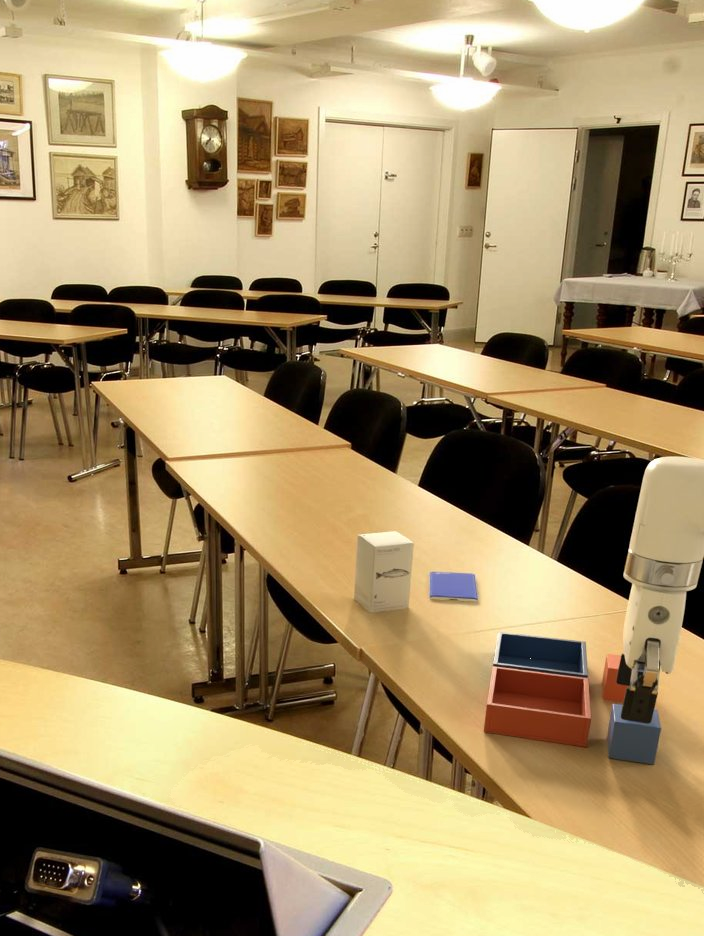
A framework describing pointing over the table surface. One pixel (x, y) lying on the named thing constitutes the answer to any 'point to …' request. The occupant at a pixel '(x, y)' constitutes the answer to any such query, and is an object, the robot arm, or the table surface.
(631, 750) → the blue block
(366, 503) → the table surface
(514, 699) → the rust bin
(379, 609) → the white packaging box
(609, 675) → the rust block
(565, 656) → the blue bin
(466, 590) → the hard drive
